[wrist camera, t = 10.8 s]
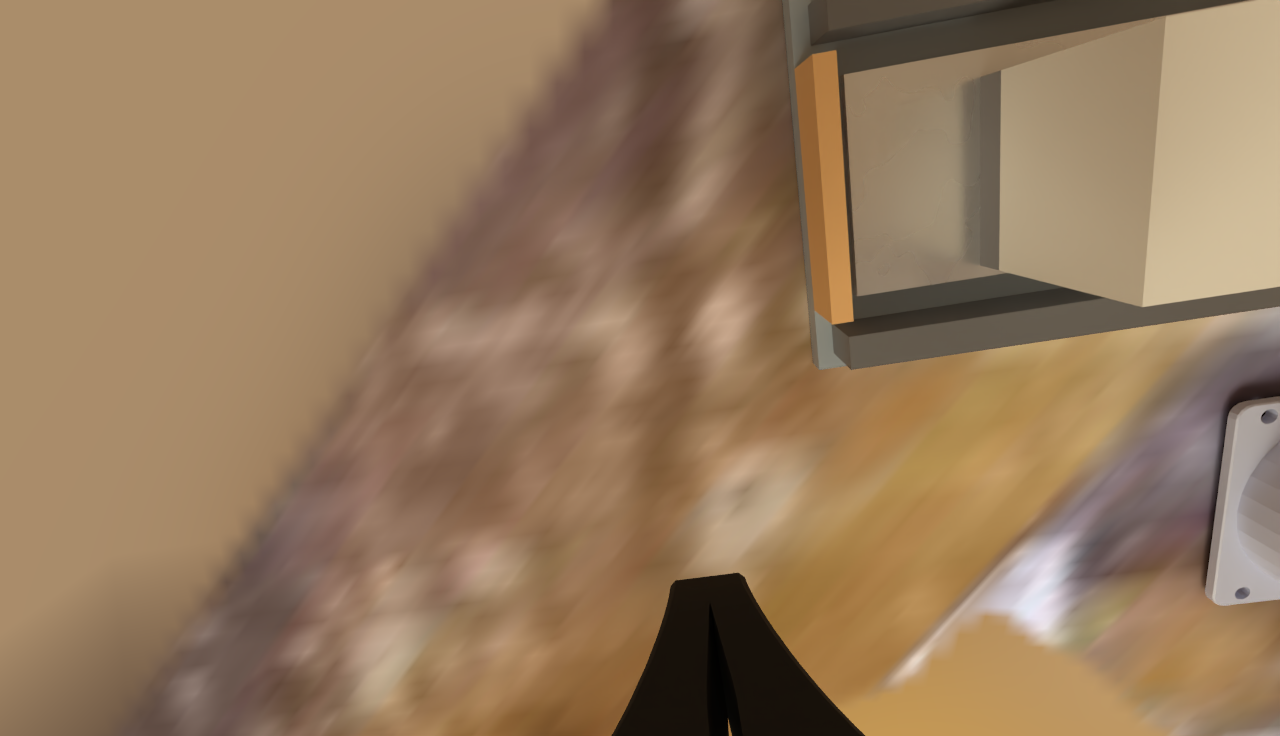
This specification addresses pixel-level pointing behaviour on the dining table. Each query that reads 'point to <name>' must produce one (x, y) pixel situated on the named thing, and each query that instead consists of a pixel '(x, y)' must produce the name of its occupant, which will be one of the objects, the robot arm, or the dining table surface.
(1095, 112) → the block
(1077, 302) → the rail panel
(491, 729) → the dining table surface
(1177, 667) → the dining table surface
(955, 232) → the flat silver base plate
